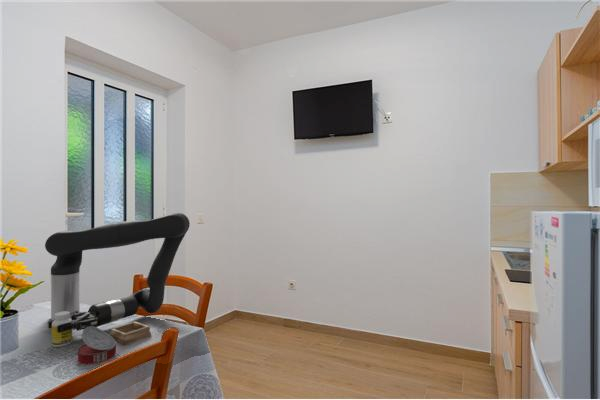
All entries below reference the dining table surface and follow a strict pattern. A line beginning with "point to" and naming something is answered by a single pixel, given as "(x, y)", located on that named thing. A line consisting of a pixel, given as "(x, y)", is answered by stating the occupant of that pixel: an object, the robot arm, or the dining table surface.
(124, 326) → the wooden box
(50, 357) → the dining table surface
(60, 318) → the supplement bottle
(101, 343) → the canned food
